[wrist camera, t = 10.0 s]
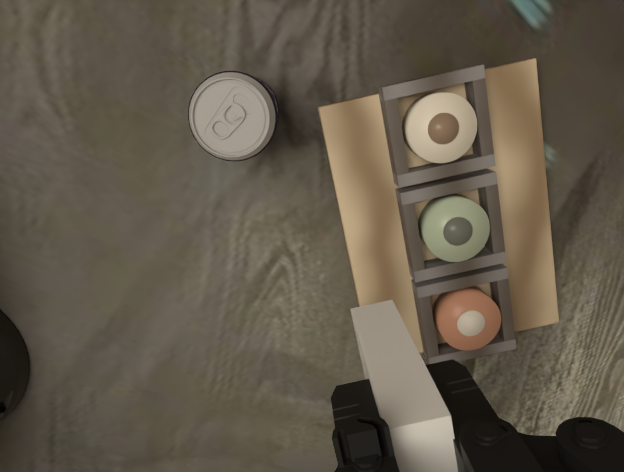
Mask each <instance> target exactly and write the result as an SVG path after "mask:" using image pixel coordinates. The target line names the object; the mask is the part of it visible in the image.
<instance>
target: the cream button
mask: <svg viewBox="0 0 624 472" xmlns="http://www.w3.org/2000/svg"><path fill="white" fill-rule="evenodd" d="M402 132H403V138H404V141H405V143H406V145H407V147H408V148H409V149H410V150H411V151H412V152H413V153H414V154H416V155H417V156H419V157H421V158H423V159H425V160H427V161H430V162H433V163H448V162H451V161H454V160H456V159H458V158H459V157H461V156H462V155H464V154H465V153H466V152H467V151H468V149H469V148H470V147H471V145H472V144H473V142H474V139H475V136H476V133H477V118H476V114H475V112H474V110H473V108H472V106H471V105H470V104H469V102H468V101H467V100H465V99H464V98H463V97H461V96H459V95H457V94H453V93H444V92H435V93H428V94H425V95H423V96H421V97H419V98H418V99H416V100H415V101H414V102H413V103H412V104H411V105H410V106H409V108H408V109H407V111H406V113H405V115H404V118H403V122H402Z"/></svg>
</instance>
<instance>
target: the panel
mask: <svg viewBox="0 0 624 472" xmlns="http://www.w3.org/2000/svg"><path fill="white" fill-rule="evenodd" d="M435 92H444V93H453V94H457V95H459V96H461V97H463V98H464V99H465V100H467V101H468V102H469V104H470V105H471V106H472V108H473V110H474V112H475V114H476V118H477V133H476V136H475V139H474V142H473V144H472V145H471V147H470V148H469V149H468V151H467V152H466V153H465V154H464V155H462V156H461V157H459V158H458V159H456V160H454V161H451V162H448V163H433V162H430V161H427V160H425V159H423V158H421V157H419V156H417V155H416V154H414V153H413V152H412V151H411V150H410V149H409V148H408V147H407V145H406V143H405V141H404V138H403V132H402V122H403V118H404V115H405V113H406V111H407V109H408V108H409V106H410V105H411V104H412V103H413V102H414V101H415V100H416V99H418V98H419V97H421V96H423V95H425V94H428V93H435ZM317 109H318V114H319V118H320V123H321V128H322V133H323V137H324V142H325V147H326V152H327V157H328V161H329V166H330V171H331V176H332V181H333V185H334V190H335V195H336V200H337V204H338V209H339V214H340V219H341V224H342V228H343V233H344V238H345V243H346V248H347V252H348V257H349V262H350V267H351V271H352V276H353V281H354V286H355V291H356V295H357V300H358V305H359V307H361V306H365V305H370V304H374V303H379V302H383V301H388V300H393V302H394V304H395V306H396V308H397V310H398V312H399V314H400V316H401V318H402V320H403V322H404V324H405V326H406V328H407V330H408V332H409V334H410V336H411V338H412V340H413V342H414V344H415V346H416V347H417V349H418V351H419V353H422V352H424V357H425V359H426V361H427V363H428V364H433V363H438V362H442V361H447V360H451V359H453V360H455V361H457V362H459V361H463V360H468V359H473V358H477V357H482V356H486V355H491V354H495V353H500V352H505V351H509V350H514V349H517V348H516V340H515V332H517V331H522V330H526V329H531V328H536V327H540V326H545V325H549V324H554V323H558V322H559V317H558V306H557V294H556V283H555V271H554V260H553V248H552V237H551V225H550V214H549V202H548V191H547V179H546V168H545V156H544V145H543V133H542V122H541V110H540V99H539V87H538V76H537V64H536V58H535V59H527V60H522V61H517V62H513V63H509V64H504V65H500V66H495V67H491V68H487V69H484V65H477V66H471V67H467V68H463V69H458V70H454V71H449V72H445V73H441V74H436V75H432V76H428V77H423V78H419V79H414V80H410V81H406V82H401V83H397V84H392V85H388V86H384V87H379V88H378V93H377V94H372V95H368V96H363V97H359V98H355V99H350V100H346V101H341V102H337V103H333V104H328V105H324V106H319V107H317ZM454 193H455V194H460V195H462V196H465V197H466V198H468V199H470V200H472V201H473V202H475V203H477V204H478V205H479V206H481V207H482V208H483V209H484V211H485V212H486V214H487V216H488V219H489V223H490V232H489V237H488V240H487V242H486V244H485V245H484V247H483V248H482V249H481V251H480V252H479V253H477V254H476V255H475V256H473V257H472V258H470V259H468V260H465V261H461V262H448V261H445V260H442V259H440V258H438V257H437V256H435V255H434V254H433V253H432V252H431V251H430V249H429V248H428V247H427V246H426V245H425V244H424V243H423V241H422V240H421V238H420V235H419V229H418V220H419V216H420V214H421V212H422V210H423V208H424V207H425V206H426V204H427V203H428V202H430V201H431V200H432V199H434V198H437V197H441V196H445V195H450V194H454ZM472 286H477V287H479V288H480V289H482V290H483V291H484V292H485V293H486V294H487V295H488V296H489V297H490V298H491V299H492V300H493V301H494V302H495V303H496V305H497V306H498V308H499V310H500V314H501V325H500V328H499V331H498V333H497V334H496V336H495V337H494V338H493V340H492V341H490V342H489V343H488V344H487V345H485V346H483V347H481V348H479V349H475V350H468V351H466V350H459V349H456V348H454V347H452V346H450V345H449V344H448V343H447V342H446V341H445V340H444V338H443V337H442V335H441V333H440V332H439V330H438V329H437V327H436V325H435V324H434V320H433V314H432V310H433V306H434V303H435V301H436V299H437V298H438V296H439V295H440V294H441V293H444V292H449V291H454V290H458V289H463V288H467V287H472Z"/></svg>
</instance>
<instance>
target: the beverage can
mask: <svg viewBox="0 0 624 472" xmlns="http://www.w3.org/2000/svg"><path fill="white" fill-rule="evenodd" d="M278 117H279V107H278V102H277V99H276V96H275V94H274V93H273V91H272V90H271V88H270V87H269V86H268V85H267V84H266V83H264V82H263V81H261V80H260V79H258V78H255V77H253V76H250V75H248V74H245V73H242V72H237V71H224V72H219V73H216V74H214V75H212V76H210V77H208V78H207V79H205V80H204V81H203V82H202V83H201V84H200V85H199V86H198V87H197V88H196V90H195V91H194V93H193V95H192V97H191V100H190V103H189V109H188V120H189V125H190V129H191V132H192V134H193V136H194V138H195V139H196V141H197V142H198V144H199V145H200V146H201V147H202V148H203V149H204V150H205V151H206V152H208V153H209V154H211V155H212V156H214V157H217V158H219V159H222V160H226V161H242V160H246V159H249V158H252V157H254V156H256V155H257V154H259V153H260V152H261V151H262V150H264V149H265V147H266V146H267V145H268V144H269V142H270V141H271V139H272V137H273V135H274V132H275V129H276V125H277V122H278Z"/></svg>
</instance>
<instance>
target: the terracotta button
mask: <svg viewBox="0 0 624 472" xmlns="http://www.w3.org/2000/svg"><path fill="white" fill-rule="evenodd" d="M432 314H433V320H434V324H435V325H436V327H437V329H438V330H439V332H440V333H441V335H442V337H443V338H444V340H445V341H446V342H447V343H448V344H449V345H450V346H452V347H454V348H456V349H459V350H466V351H468V350H475V349H479V348H481V347H483V346H485V345H487V344H488V343H489V342H490V341H492V340H493V338H494V337H495V336H496V334H497V333H498V331H499V328H500V325H501V314H500V310H499V308H498V306H497V305H496V303H495V302H494V301H493V300H492V299H491V298H490V297H489V296H488V295H487V294H486V293H485V292H484V291H483V290H482V289H480V288H479V287H477V286H472V287H467V288H463V289H458V290H454V291H449V292H444V293H441V294H440V295H439V296H438V298H437V299H436V301H435V303H434V306H433V310H432Z"/></svg>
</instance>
